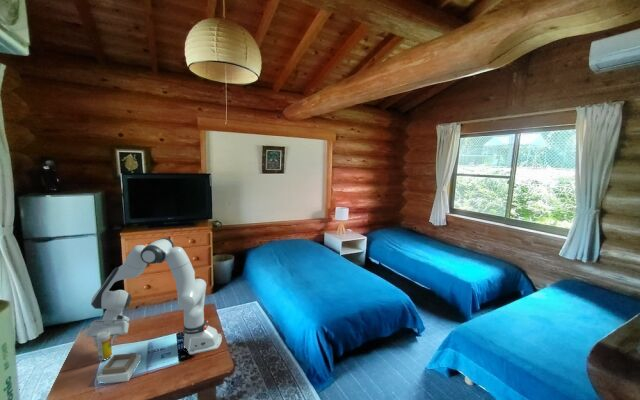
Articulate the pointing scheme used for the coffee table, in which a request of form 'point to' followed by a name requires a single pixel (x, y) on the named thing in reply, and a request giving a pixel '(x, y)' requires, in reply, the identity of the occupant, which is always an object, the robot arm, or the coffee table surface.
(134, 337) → the coffee table surface
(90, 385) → the coffee table surface
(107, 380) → the display plinth
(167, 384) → the coffee table surface
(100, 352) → the beer can
